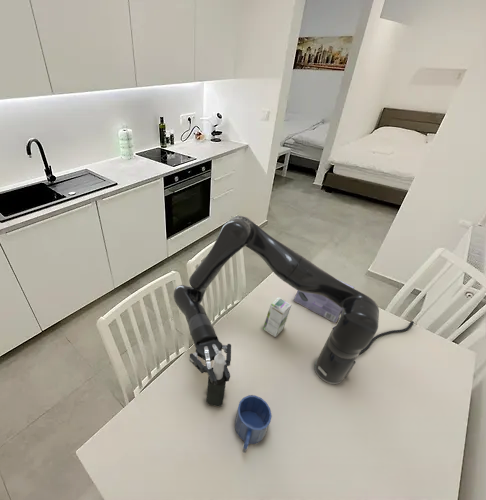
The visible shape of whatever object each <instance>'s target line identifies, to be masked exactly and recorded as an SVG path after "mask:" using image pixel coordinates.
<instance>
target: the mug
mask: <svg viewBox="0 0 486 500" xmlns="http://www.w3.org/2000/svg"><path fill="white" fill-rule="evenodd" d="M272 417H273V415H272V410H271V407H270V406H269V404H268V402H266V400H265V399H263V398H262V397H260V396H257V395H255V394H252V395H251V394H248V395H246V396H244V397H243V398H242V399H241V400H240V401H239V403H238V406H237V410H236V414H235V418H234V430H235V432H236V435H237V436H238V437H239V438H240V439H241V440H242V441H243V447H242V452H243V453H244V454H246V453H247V450H248V447H249V445H256V444H258V443H261V442H262V441H263V440H264V438H265V436H266V435H267V431H268V429H269V427H270V424H271V422H272Z"/></svg>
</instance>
